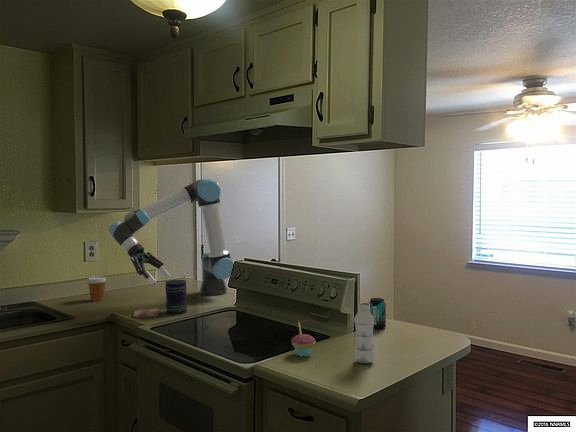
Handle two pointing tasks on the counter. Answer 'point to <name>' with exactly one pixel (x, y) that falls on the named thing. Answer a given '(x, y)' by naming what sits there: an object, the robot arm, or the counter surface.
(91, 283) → the disposable coffee cup
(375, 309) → the beverage can
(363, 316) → the plastic bottle
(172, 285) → the storage jar
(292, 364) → the counter surface
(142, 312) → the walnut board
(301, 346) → the cupcake
